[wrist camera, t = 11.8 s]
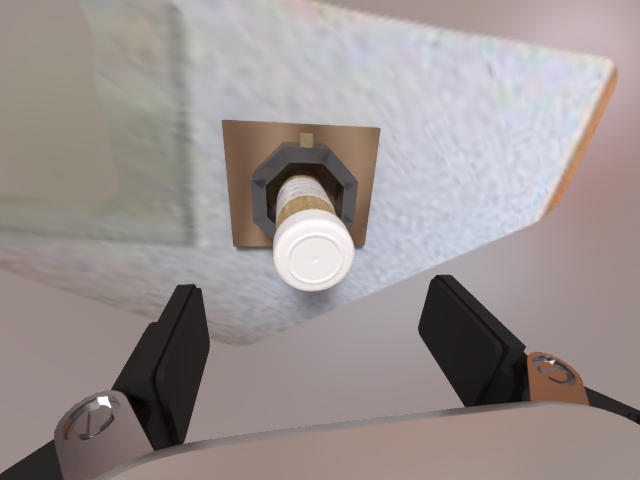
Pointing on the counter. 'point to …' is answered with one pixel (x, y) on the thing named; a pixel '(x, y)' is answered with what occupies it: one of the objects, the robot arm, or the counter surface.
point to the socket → (301, 154)
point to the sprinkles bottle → (309, 235)
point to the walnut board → (263, 138)
